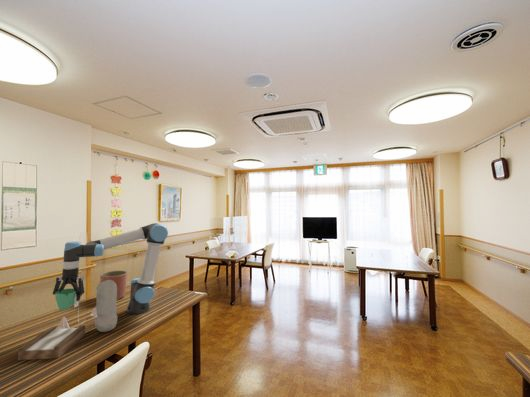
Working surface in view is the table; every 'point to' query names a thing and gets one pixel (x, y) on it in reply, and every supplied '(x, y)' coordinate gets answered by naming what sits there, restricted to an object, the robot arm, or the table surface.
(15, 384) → the table surface
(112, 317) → the sculpture
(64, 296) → the mug
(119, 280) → the planter
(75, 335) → the brown rectangular tray
